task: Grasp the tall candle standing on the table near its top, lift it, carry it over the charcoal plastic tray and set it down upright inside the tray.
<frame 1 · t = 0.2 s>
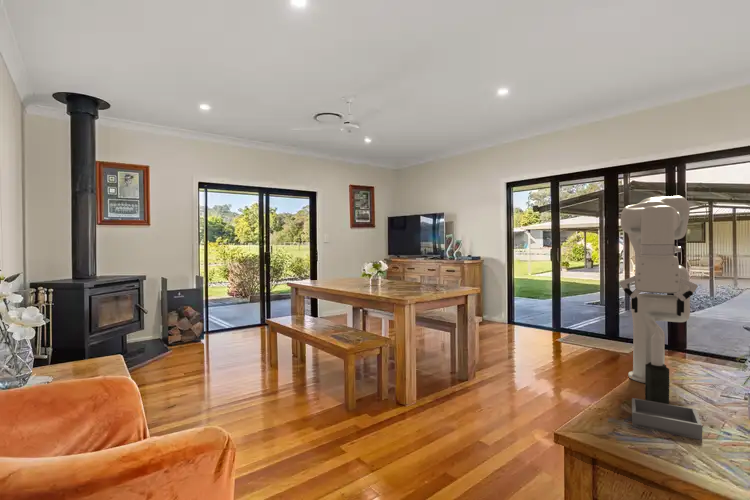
hand: (656, 313, 109), 31 cm above the table, tool pointing down, fingers open, 9 cm apart
tray: (664, 423, 110), on the table
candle: (656, 408, 121), on the table
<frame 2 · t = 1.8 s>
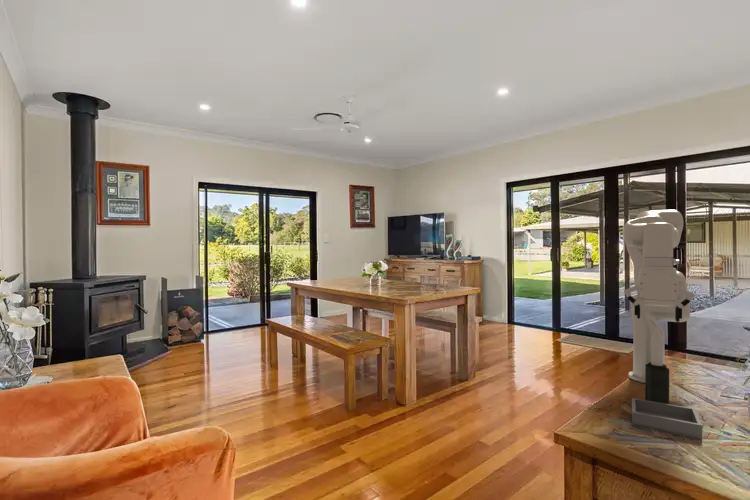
hand: (657, 319, 120), 27 cm above the table, tool pointing down, fingers open, 9 cm apart
nothing on the table moved.
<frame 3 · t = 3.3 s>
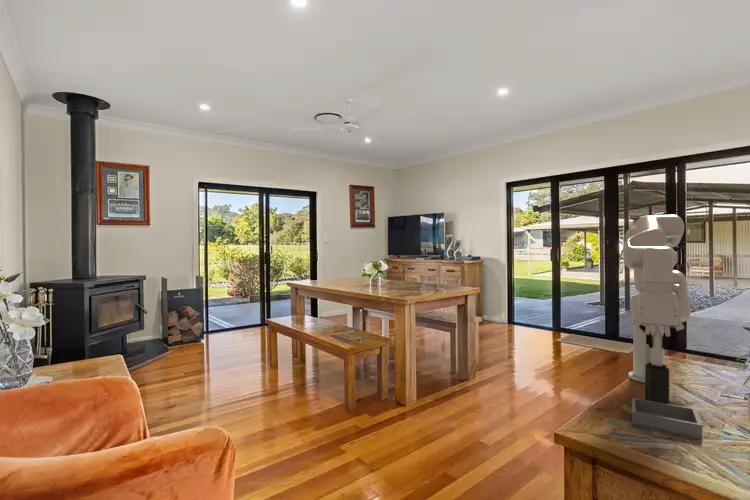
hand: (657, 347, 121), 19 cm above the table, tool pointing down, fingers closed on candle, 3 cm apart
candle: (656, 408, 121), on the table, touching gripper
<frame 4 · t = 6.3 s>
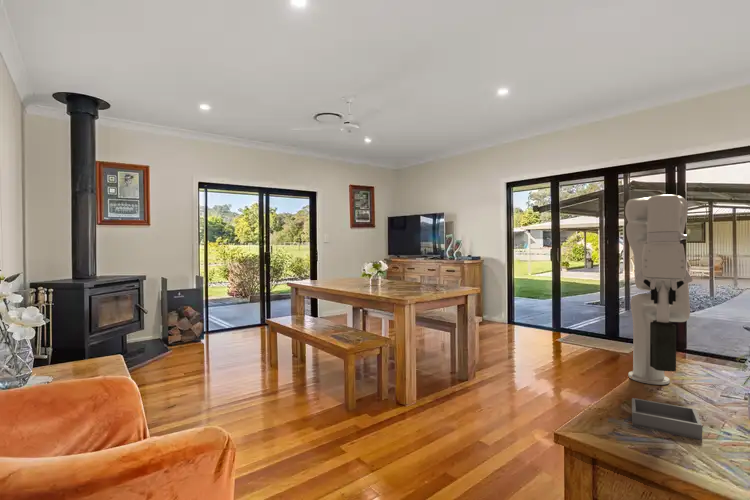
hand: (663, 302, 112), 34 cm above the table, tool pointing down, fingers closed on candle, 3 cm apart
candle: (662, 369, 112), point 15 cm above the table, touching gripper
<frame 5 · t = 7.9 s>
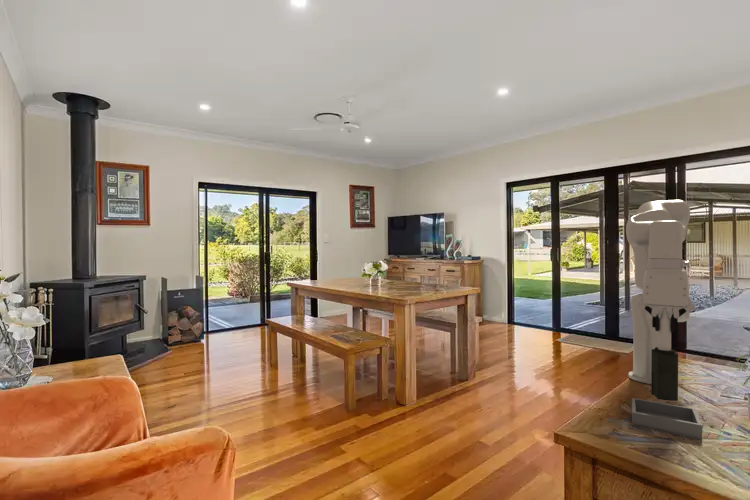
hand: (664, 330, 110), 26 cm above the table, tool pointing down, fingers closed on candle, 3 cm apart
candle: (664, 397, 110), point 7 cm above the table, touching gripper
when the fingers open (21 cm above the table, at t = 9.1 s): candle drops 1 cm, resting on tray.
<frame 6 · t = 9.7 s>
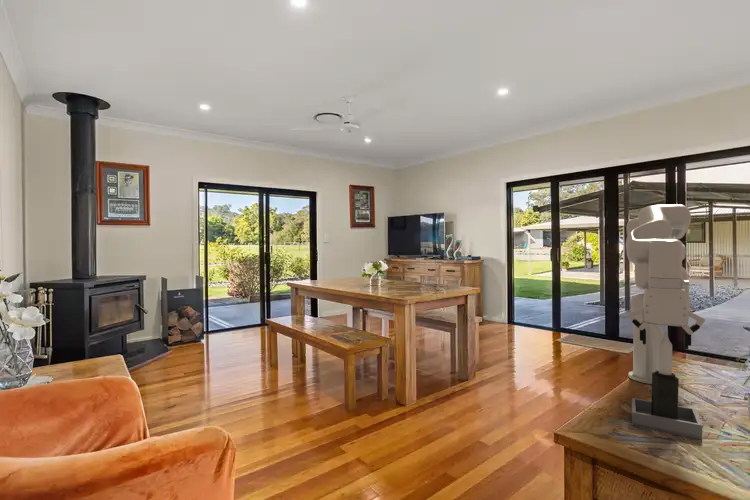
hand: (664, 345, 110), 22 cm above the table, tool pointing down, fingers open, 9 cm apart
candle: (664, 421, 111), point 1 cm above the table, touching tray
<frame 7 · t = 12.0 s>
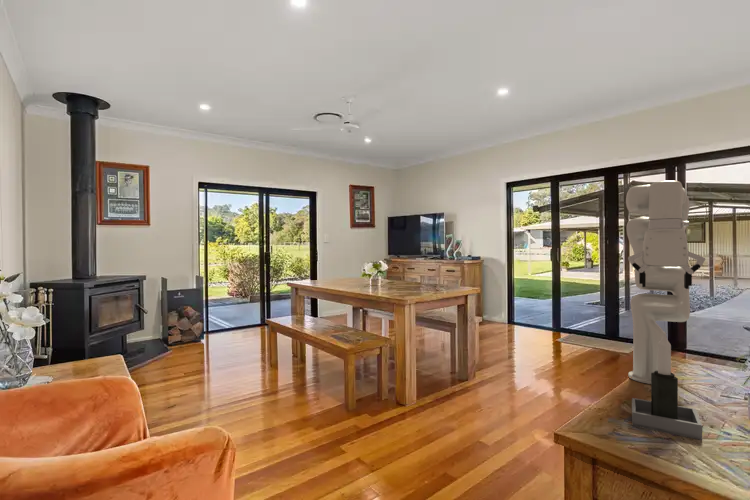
hand: (664, 287, 110), 38 cm above the table, tool pointing down, fingers open, 9 cm apart
nothing on the table moved.
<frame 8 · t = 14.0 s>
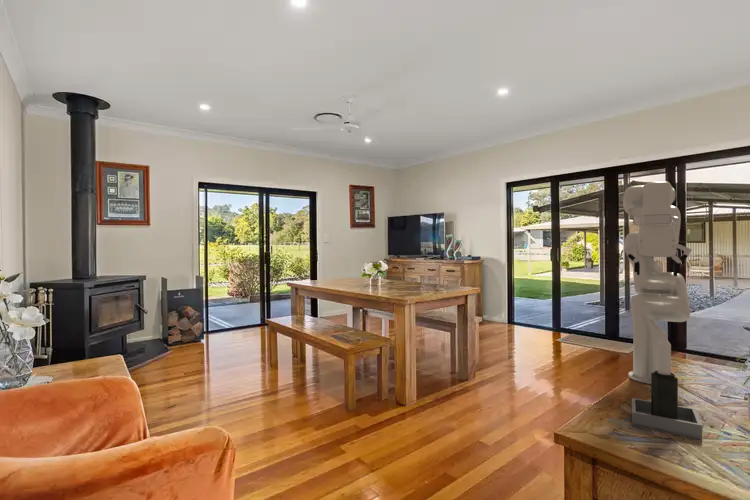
hand: (656, 275, 125), 40 cm above the table, tool pointing down, fingers open, 9 cm apart
nothing on the table moved.
at the end: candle inside the target area on the tray (0.2 cm from its centre), point 0.6 cm above the tray's base; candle tilted 0°; the gripper is holding nothing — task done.
